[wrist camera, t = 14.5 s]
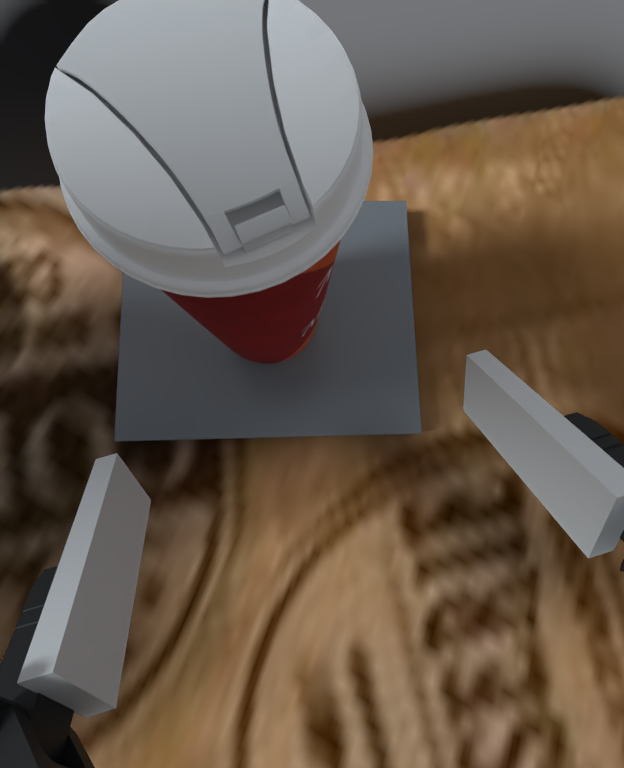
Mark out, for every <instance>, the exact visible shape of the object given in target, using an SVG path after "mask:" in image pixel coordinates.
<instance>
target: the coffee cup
mask: <svg viewBox="0 0 624 768" xmlns="http://www.w3.org/2000/svg"><path fill="white" fill-rule="evenodd" d="M57 67H58V69H59V70H60V71H59V70H58V69H56V68H55V69H54V71H53V74H52V76H51V80H50V84H49V88H48V92H47V96H46V108H45V125H46V133H47V141H48V147H49V151H50V154H51V157H52V160H53V163H54V166H55V169H56V171H57V174H58V175H59V177H60V183H61V189H62V192H63V195H64V198H65V201H66V204H67V208H68V210H69V212H70V214H71V216H72V217H73V219H74V221H75V223H76V225H77V227H78V229H79V230H80V231H81V233H82V234H83V235H84V237H85V238H86V239H87V240H88V242H89V243H90V244H91V246H92V247H93V248H94V249H95V250H96V251H97V252H98V253H100V254H101V255H102V256H103V257H104V258H105V259H106V260H107V261H108V262H110V263H111V264H112V265H113V266H114V267H116V268H118V269H119V270H121V271H122V272H124V273H125V274H127V275H129V276H130V277H132V278H133V279H135V280H138V281H140V282H142V283H145V284H147V285H149V286H152V287H154V288H156V289H160V290H162V291H163V292H164V293H165V294H166V295H167V296H169V297H170V298H171V299H172V300H173V301H174V302H176V303H177V304H178V305H179V306H180V307H181V308H182V309H184V310H185V311H186V312H187V313H188V314H189V315H191V316H192V317H193V318H194V319H195V320H196V321H198V322H199V323H200V324H201V325H202V326H203V327H205V328H206V329H207V330H208V331H209V332H210V333H212V334H213V335H214V336H215V337H216V338H218V339H219V340H220V341H221V342H222V343H224V344H225V345H226V346H227V347H228V348H230V349H231V350H232V351H234V352H235V353H237V354H238V355H240V356H241V357H243V358H245V359H247V360H250V361H253V362H257V363H264V364H271V363H278V362H282V361H285V360H287V359H290V358H292V357H293V356H295V355H296V354H298V353H299V352H300V351H301V350H302V349H303V348H304V347H305V346H306V345H307V343H308V342H309V341H310V339H311V337H312V335H313V333H314V331H315V328H316V325H317V322H318V319H319V316H320V312H321V309H322V306H323V302H324V299H325V295H326V292H327V288H328V284H329V281H330V277H331V274H332V270H333V266H334V263H335V259H336V255H337V252H338V248H339V245H340V241H341V239H342V238H343V236H344V235H345V233H346V232H347V230H348V229H349V227H350V226H351V225H352V223H353V222H354V220H355V219H356V216H357V214H358V212H359V210H360V208H361V206H362V203H363V201H364V199H365V196H366V193H367V189H368V185H369V181H370V178H371V172H372V160H373V145H372V134H371V128H370V124H369V121H368V117H367V113H366V110H365V108H364V105H363V103H362V101H361V95H360V90H359V87H358V83H357V79H356V76H355V72H354V69H353V67H352V65H351V63H350V61H349V59H348V56H347V54H346V52H345V50H344V48H343V46H342V45H341V44H340V42H339V41H338V39H337V38H336V36H335V35H334V33H333V32H332V30H331V29H330V28H329V27H328V26H327V25H326V24H325V23H324V22H323V21H322V20H321V19H320V18H319V17H318V16H317V15H316V14H315V13H314V12H312V11H311V10H310V9H309V8H307V7H306V6H304V5H303V4H302V3H300V2H299V1H298V0H119V1H117V2H115V3H114V4H112V5H110V6H109V7H107V8H105V9H104V10H103V11H102V12H101V13H100V14H98V15H97V16H96V17H95V18H94V19H92V20H91V21H90V22H89V23H88V24H87V25H86V26H85V28H84V29H83V30H82V31H81V33H80V34H79V35H78V36H77V38H76V39H75V40H74V41H73V42H72V44H71V45H70V47H69V48H68V50H67V51H66V53H65V54H64V55H63V57H62V58H61V60H60V61H59V62H58V64H57Z"/></svg>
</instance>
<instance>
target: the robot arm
mask: <svg viewBox="0 0 624 768" xmlns="http://www.w3.org/2000/svg"><path fill="white" fill-rule="evenodd" d="M463 410H464V412H465V413H466V414H467V415H468V416H469V418H470V419H471V420H472V421H473V422H474V424H475V425H476V426H477V427H478V428H479V429H480V431H481V432H482V433H483V434H484V435H485V437H486V438H487V439H488V440H489V441H490V443H491V444H492V445H493V446H494V447H495V448H496V450H497V451H498V452H499V453H500V454H501V456H502V457H503V458H504V459H505V460H506V462H507V463H508V464H509V465H510V466H511V467H512V469H513V470H514V471H515V472H516V473H517V475H518V476H519V477H520V478H521V479H522V481H523V482H524V483H525V484H526V485H527V486H528V488H529V489H530V490H531V491H532V492H533V494H534V495H535V496H536V497H537V498H538V500H539V501H540V502H541V503H542V504H543V505H544V507H545V508H546V509H547V510H548V511H549V513H550V514H551V515H552V516H553V517H554V519H555V520H556V521H557V522H558V523H559V524H560V526H561V527H562V528H563V529H564V530H565V532H566V533H567V534H568V535H569V536H570V538H571V539H572V540H573V541H574V542H575V543H576V545H577V546H578V547H579V548H580V549H581V551H582V552H583V553H584V554H585V555H586V557H587V558H588V559H589V558H592V557H595V556H598V555H601V554H604V553H607V552H611V551H614V549H615V547H616V546H617V544H618V542H619V540H620V538H621V539H622V540H623V541H624V445H623V443H622V442H621V441H620V440H618V439H617V438H616V437H615V436H611V434H610V432H608V431H607V430H606V429H605V428H603V427H602V426H601V425H600V424H598V423H597V422H596V421H594V420H592V419H590V418H588V417H585V416H583V415H581V414H579V413H577V412H576V413H573V414H569V415H566V416H563V415H562V414H560V413H559V412H558V411H557V410H556V409H555V408H553V407H552V406H551V405H550V404H549V403H548V402H546V401H545V400H544V399H543V398H542V397H541V396H540V395H538V394H537V393H536V392H535V391H534V390H533V389H531V388H530V387H529V386H528V385H527V384H526V383H524V382H523V381H522V380H521V379H520V378H519V377H517V376H516V375H515V374H514V373H513V372H512V371H511V370H509V369H508V368H507V367H506V366H505V365H504V364H502V363H501V362H500V361H499V360H498V359H497V358H495V357H494V356H493V355H492V354H491V353H490V352H488V351H487V350H482V351H479V352H475V353H471V354H468V355H467V358H466V373H465V388H464V404H463ZM150 505H151V499H150V498H149V496H148V495H147V494H146V492H145V491H144V489H143V488H142V487H141V485H140V484H139V483H138V481H137V480H136V478H135V477H134V476H133V474H132V473H131V471H130V470H129V469H128V467H127V466H126V465H125V463H124V462H123V460H122V459H121V458H120V456H119V455H118V453H116V454H112V455H109V456H105V457H102V458H98V459H96V460H95V463H94V466H93V468H92V471H91V474H90V477H89V480H88V483H87V485H86V488H85V491H84V494H83V497H82V500H81V503H80V505H79V508H78V511H77V514H76V517H75V520H74V522H73V525H72V528H71V531H70V534H69V537H68V539H67V542H66V545H65V548H64V551H63V554H62V556H61V559H60V562H59V565H58V566H56V567H53V568H50V569H46V570H44V571H43V573H42V574H41V576H40V577H39V578H38V580H37V581H36V583H35V584H34V585H33V587H32V588H31V590H30V592H29V595H28V597H27V600H26V602H25V605H24V607H23V613H22V614H21V615H20V618H19V620H18V623H17V625H16V628H17V629H16V630H15V631H14V633H13V635H12V638H11V640H10V643H9V645H8V648H7V651H6V653H5V656H4V658H3V661H2V663H1V666H0V768H95V767H94V766H93V764H92V762H91V760H90V758H89V756H88V754H87V752H86V751H85V749H84V747H83V745H82V743H81V741H80V739H79V738H78V736H77V734H76V732H75V731H74V730H73V729H72V728H71V727H70V725H71V721H72V717H73V712H76V713H78V714H80V715H82V716H84V717H86V718H87V717H90V716H93V715H97V714H100V713H103V712H106V711H109V710H112V709H116V705H117V699H118V693H119V687H120V681H121V675H122V670H123V664H124V658H125V652H126V646H127V640H128V634H129V628H130V622H131V617H132V611H133V605H134V599H135V593H136V587H137V581H138V575H139V569H140V564H141V558H142V552H143V546H144V540H145V534H146V528H147V522H148V516H149V510H150ZM620 571H623V572H624V560H623V562H622V563H621V567H620Z"/></svg>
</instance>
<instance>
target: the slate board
mask: <svg viewBox="0 0 624 768" xmlns="http://www.w3.org/2000/svg"><path fill="white" fill-rule="evenodd" d="M399 434H422V429H421V414H420V399H419V385H418V370H417V355H416V341H415V326H414V311H413V296H412V282H411V267H410V252H409V238H408V223H407V208H406V201H363V203H362V206H361V208H360V210H359V212H358V214H357V216H356V219H355V220H354V222H353V223H352V225H351V226H350V227H349V229H348V230H347V232H346V233H345V235H344V236H343V238H342V239H341V241H340V245H339V248H338V252H337V255H336V259H335V263H334V266H333V270H332V274H331V277H330V281H329V284H328V288H327V292H326V295H325V299H324V302H323V306H322V309H321V312H320V316H319V319H318V322H317V325H316V328H315V331H314V333H313V335H312V337H311V339H310V341H309V342H308V343H307V345H306V346H305V347H304V348H303V349H302V350H301V351H300V352H299V353H298V354H296V355H295V356H293V357H292V358H290V359H287V360H285V361H282V362H278V363H271V364H264V363H257V362H253V361H250V360H247V359H245V358H243V357H241V356H240V355H238V354H237V353H235V352H234V351H232V350H231V349H230V348H228V347H227V346H226V345H225V344H224V343H222V342H221V341H220V340H219V339H218V338H216V337H215V336H214V335H213V334H212V333H210V332H209V331H208V330H207V329H206V328H205V327H203V326H202V325H201V324H200V323H199V322H198V321H196V320H195V319H194V318H193V317H192V316H191V315H189V314H188V313H187V312H186V311H185V310H184V309H182V308H181V307H180V306H179V305H178V304H177V303H176V302H174V301H173V300H172V299H171V298H170V297H169V296H167V295H166V294H165V293H164V292H163V291H162V290H160V289H156V288H154V287H152V286H149V285H147V284H145V283H142V282H140V281H138V280H135V279H133V278H132V277H130V276H129V275H127V274H125V273H124V272H123V285H122V304H121V323H120V342H119V361H118V380H117V399H116V418H115V437H114V441H159V440H199V439H239V438H279V437H319V436H359V435H399Z"/></svg>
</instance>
